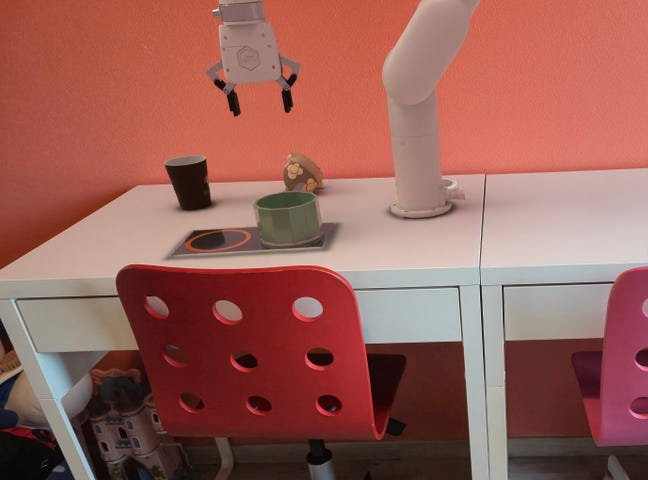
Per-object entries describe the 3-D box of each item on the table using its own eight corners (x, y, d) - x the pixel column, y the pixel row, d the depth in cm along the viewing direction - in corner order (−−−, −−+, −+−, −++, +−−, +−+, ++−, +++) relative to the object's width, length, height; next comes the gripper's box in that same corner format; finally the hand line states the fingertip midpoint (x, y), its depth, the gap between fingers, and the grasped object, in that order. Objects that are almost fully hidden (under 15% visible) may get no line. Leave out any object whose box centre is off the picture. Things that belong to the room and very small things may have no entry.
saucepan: (333, 210, 147) (328, 177, 144) (317, 244, 129) (311, 207, 126) (278, 213, 147) (272, 180, 143) (254, 248, 129) (246, 210, 126)
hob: (335, 224, 141) (335, 221, 140) (324, 249, 128) (323, 247, 128) (193, 232, 140) (193, 229, 140) (168, 258, 128) (167, 255, 128)
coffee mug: (203, 212, 152) (192, 165, 147) (167, 211, 154) (155, 165, 149) (230, 196, 162) (220, 152, 157) (196, 196, 164) (186, 152, 159)
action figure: (340, 165, 168) (329, 180, 154) (311, 198, 171) (298, 215, 158) (307, 134, 165) (293, 146, 151) (278, 168, 168) (261, 183, 155)
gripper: (188, 19, 123) (212, 120, 132) (288, 12, 124) (305, 114, 132) (200, 16, 130) (222, 113, 138) (294, 10, 131) (310, 106, 139)
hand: (262, 113), depth 135 cm, fingers open, 9 cm apart
